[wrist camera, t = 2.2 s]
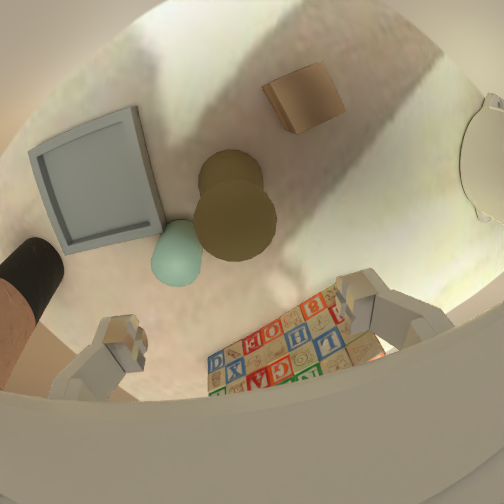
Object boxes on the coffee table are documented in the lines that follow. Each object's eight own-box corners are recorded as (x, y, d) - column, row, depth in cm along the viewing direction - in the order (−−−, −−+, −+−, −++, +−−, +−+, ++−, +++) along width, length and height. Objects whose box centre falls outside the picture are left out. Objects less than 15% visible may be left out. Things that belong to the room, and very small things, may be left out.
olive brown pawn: (218, 137, 23) (215, 162, 14) (275, 170, 25) (308, 215, 16) (187, 193, 26) (167, 252, 16) (242, 221, 28) (253, 290, 18)
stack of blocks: (234, 375, 41) (240, 446, 30) (206, 356, 38) (207, 433, 27) (359, 305, 36) (397, 376, 25) (341, 277, 33) (384, 353, 22)
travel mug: (76, 276, 29) (6, 418, 12) (43, 294, 30) (-19, 415, 12) (42, 224, 25) (-63, 351, 8) (11, 249, 26) (-73, 360, 9)
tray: (137, 106, 21) (130, 106, 19) (167, 224, 27) (163, 233, 25) (38, 147, 21) (27, 151, 19) (72, 246, 27) (65, 255, 25)
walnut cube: (305, 67, 21) (321, 61, 17) (326, 109, 23) (346, 111, 19) (261, 86, 21) (269, 83, 18) (284, 129, 24) (297, 134, 20)
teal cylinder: (197, 215, 27) (193, 239, 23) (207, 253, 29) (205, 282, 25) (155, 224, 27) (144, 249, 23) (167, 261, 29) (160, 290, 25)
